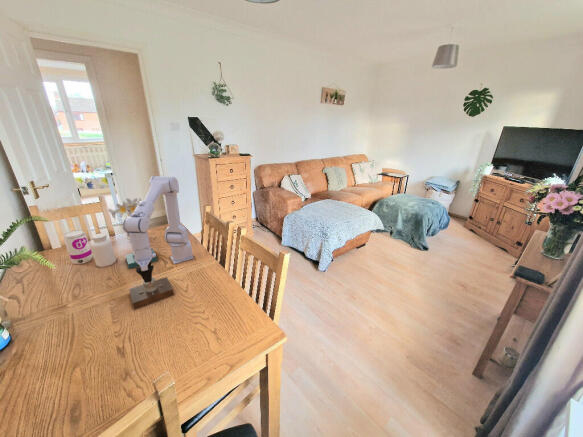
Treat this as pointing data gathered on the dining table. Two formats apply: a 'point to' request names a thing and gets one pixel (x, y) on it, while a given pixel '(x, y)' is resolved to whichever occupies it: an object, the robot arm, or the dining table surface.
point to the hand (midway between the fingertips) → (148, 276)
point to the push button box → (132, 262)
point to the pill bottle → (102, 250)
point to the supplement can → (78, 246)
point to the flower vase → (125, 208)
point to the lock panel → (151, 293)
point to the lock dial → (150, 285)
